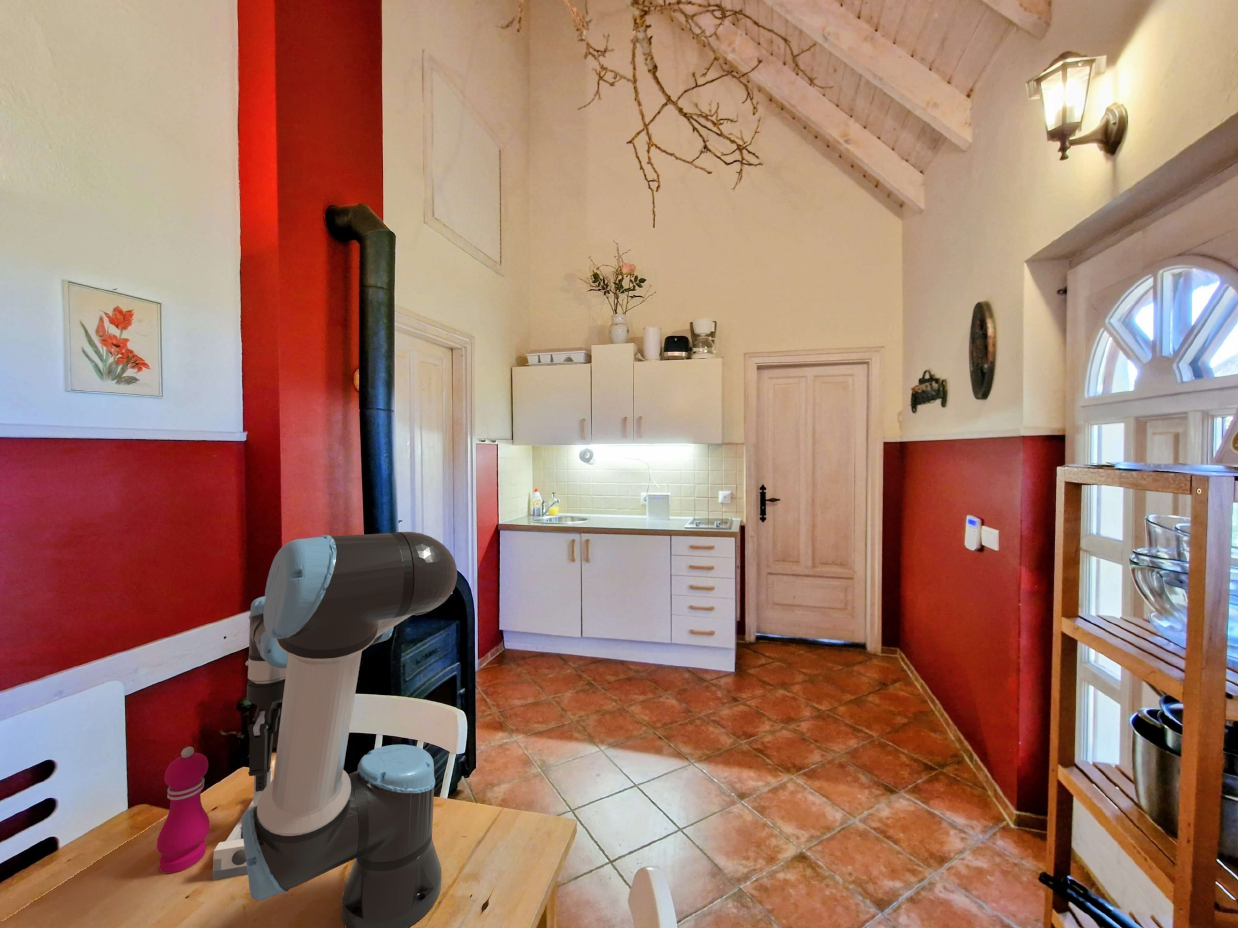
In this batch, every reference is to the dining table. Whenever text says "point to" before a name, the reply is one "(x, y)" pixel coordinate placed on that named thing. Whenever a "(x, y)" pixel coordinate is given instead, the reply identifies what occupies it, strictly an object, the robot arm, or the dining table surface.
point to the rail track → (231, 855)
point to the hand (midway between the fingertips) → (266, 797)
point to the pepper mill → (184, 814)
